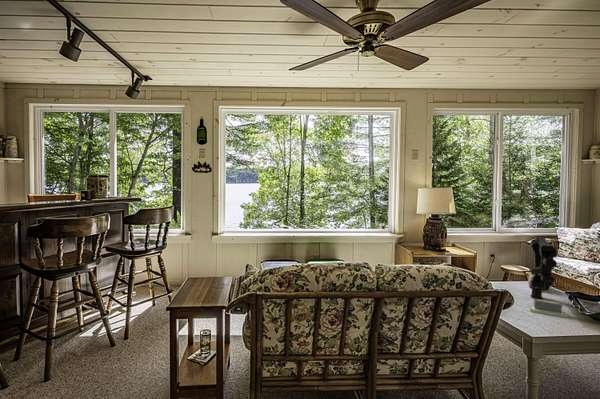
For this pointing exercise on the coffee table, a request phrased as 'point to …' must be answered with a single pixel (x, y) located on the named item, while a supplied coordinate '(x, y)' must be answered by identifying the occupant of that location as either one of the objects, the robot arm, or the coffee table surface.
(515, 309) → the coffee table surface
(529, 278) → the stack of blocks
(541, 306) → the panel
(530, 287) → the robot arm
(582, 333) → the coffee table surface
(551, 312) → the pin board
